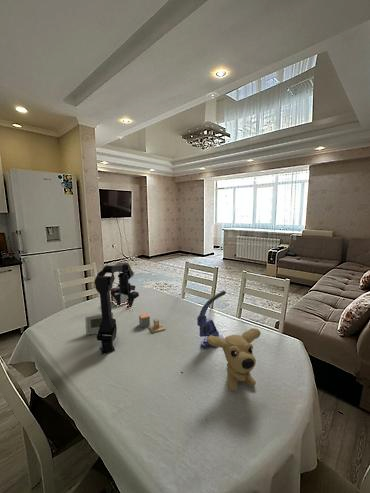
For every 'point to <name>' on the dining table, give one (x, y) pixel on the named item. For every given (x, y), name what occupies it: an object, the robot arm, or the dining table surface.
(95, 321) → the digital clock
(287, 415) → the dining table surface
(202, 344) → the hand press
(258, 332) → the toy
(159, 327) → the tan piece
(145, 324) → the grey-topped salmon cube
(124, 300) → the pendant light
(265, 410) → the dining table surface
